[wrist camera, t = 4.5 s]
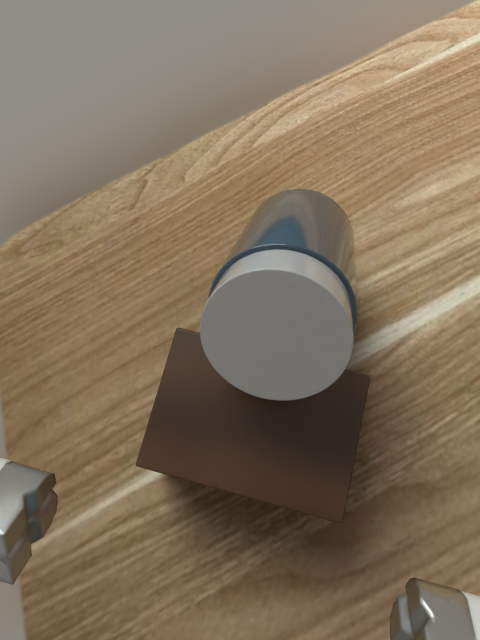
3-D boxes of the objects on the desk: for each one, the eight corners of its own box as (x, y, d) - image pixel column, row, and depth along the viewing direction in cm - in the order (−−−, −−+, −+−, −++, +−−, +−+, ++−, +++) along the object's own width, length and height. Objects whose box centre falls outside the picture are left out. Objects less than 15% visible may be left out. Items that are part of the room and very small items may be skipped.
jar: (255, 215, 30) (256, 73, 18) (350, 237, 29) (417, 104, 17) (206, 394, 27) (169, 364, 15) (310, 421, 26) (357, 412, 14)
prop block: (190, 345, 28) (176, 326, 23) (349, 385, 27) (370, 375, 22) (157, 459, 26) (134, 465, 21) (325, 506, 25) (342, 524, 20)
